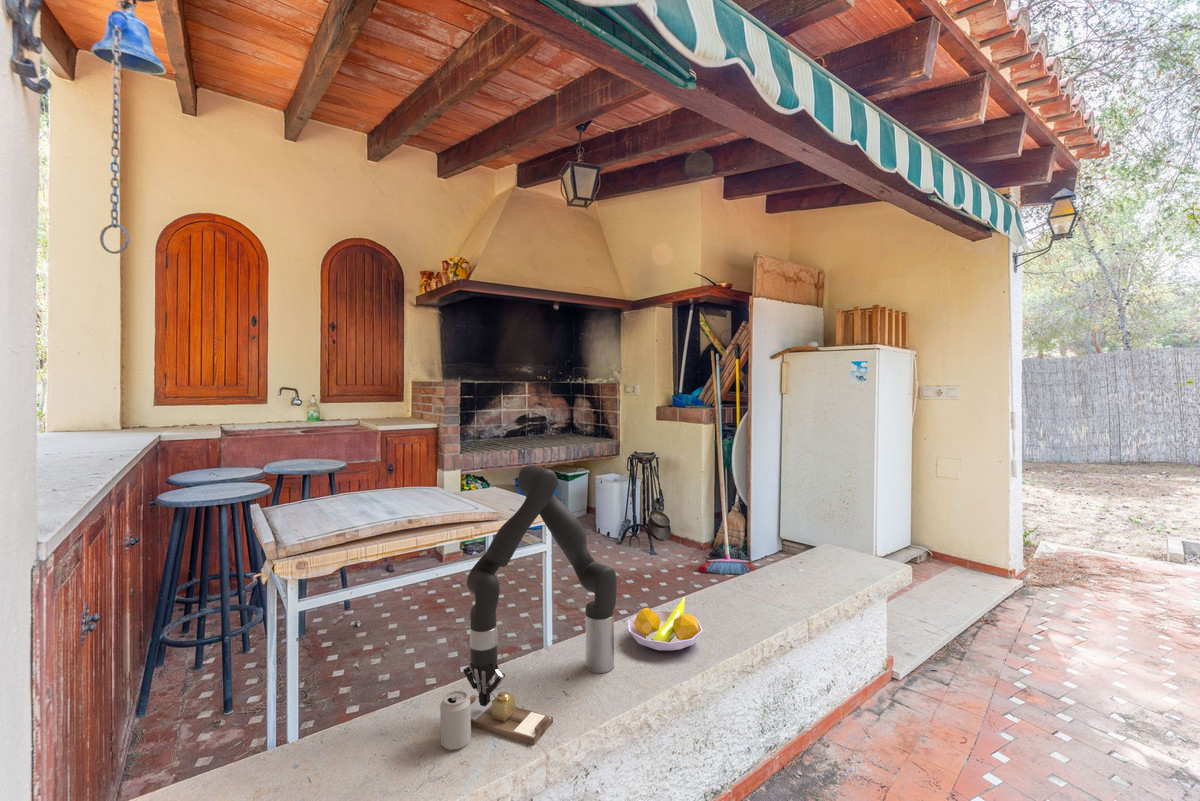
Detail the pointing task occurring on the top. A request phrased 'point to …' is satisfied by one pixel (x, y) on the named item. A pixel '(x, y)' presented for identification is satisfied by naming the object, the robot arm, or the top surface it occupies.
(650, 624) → the fruit bowl
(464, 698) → the can
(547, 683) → the top surface
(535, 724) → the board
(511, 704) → the brass knob
